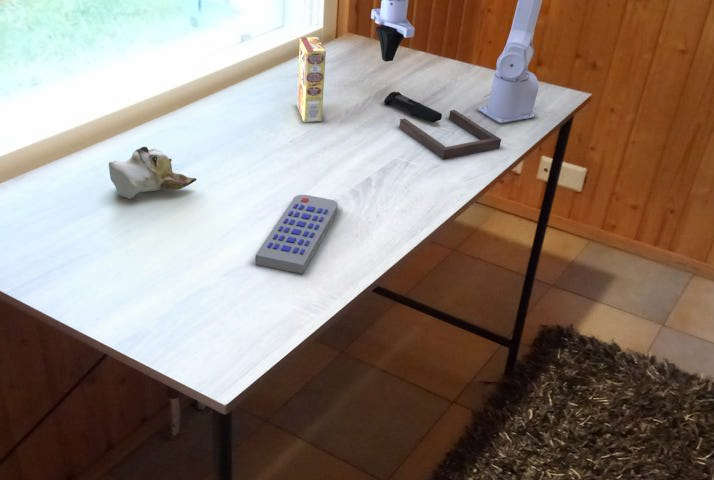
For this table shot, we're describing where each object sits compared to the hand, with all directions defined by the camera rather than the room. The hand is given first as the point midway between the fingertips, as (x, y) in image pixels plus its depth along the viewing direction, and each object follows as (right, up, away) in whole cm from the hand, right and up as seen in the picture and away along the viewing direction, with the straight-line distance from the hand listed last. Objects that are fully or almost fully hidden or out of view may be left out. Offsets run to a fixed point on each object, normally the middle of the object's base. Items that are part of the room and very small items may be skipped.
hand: (387, 60), depth 183 cm
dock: (+10, -20, -13) cm, 26 cm away
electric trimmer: (+5, -13, -4) cm, 14 cm away
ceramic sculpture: (-49, -35, -34) cm, 69 cm away
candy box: (-18, -14, -5) cm, 23 cm away
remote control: (-22, -45, -46) cm, 68 cm away
